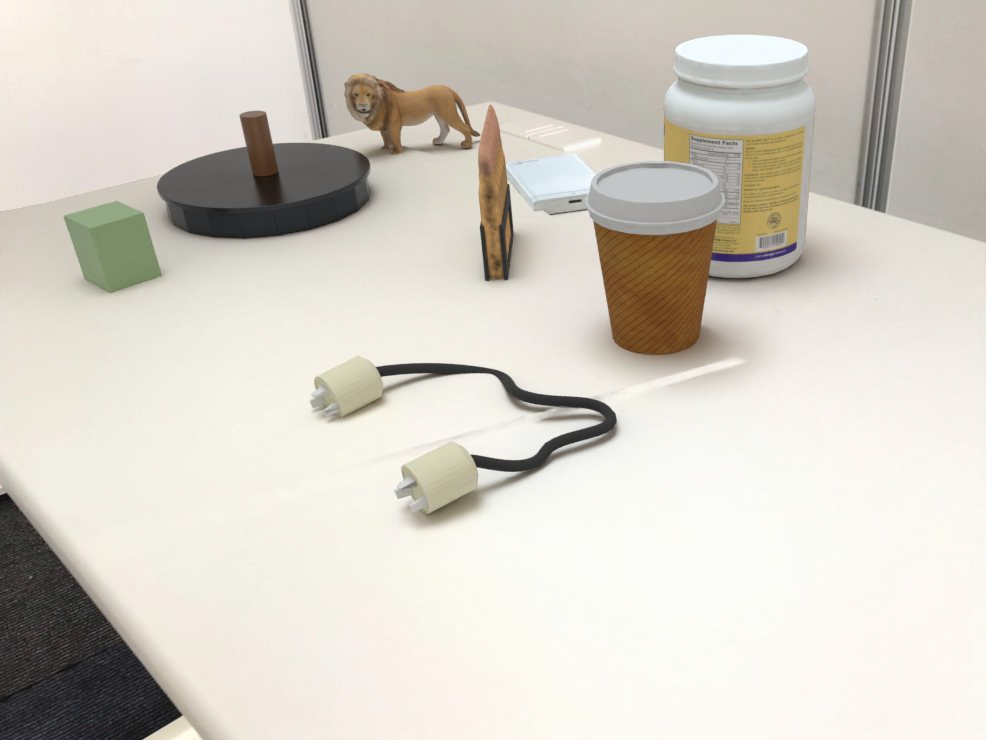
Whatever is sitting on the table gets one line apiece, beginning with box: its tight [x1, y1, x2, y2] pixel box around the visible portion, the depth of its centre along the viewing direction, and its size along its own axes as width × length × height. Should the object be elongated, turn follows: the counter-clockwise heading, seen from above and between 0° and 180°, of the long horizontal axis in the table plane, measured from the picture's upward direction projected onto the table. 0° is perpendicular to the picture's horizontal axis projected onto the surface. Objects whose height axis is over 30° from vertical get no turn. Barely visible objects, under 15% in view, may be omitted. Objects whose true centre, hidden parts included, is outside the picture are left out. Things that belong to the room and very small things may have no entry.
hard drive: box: [506, 153, 598, 215], centre depth 104 cm, size 2×8×12 cm
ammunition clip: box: [477, 104, 515, 282], centre depth 86 cm, size 11×2×12 cm, turn 3°
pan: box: [164, 177, 370, 240], centre depth 101 cm, size 19×19×3 cm
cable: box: [308, 355, 618, 515], centre depth 66 cm, size 16×16×4 cm
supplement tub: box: [662, 34, 817, 279], centre depth 85 cm, size 12×12×17 cm
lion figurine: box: [343, 72, 481, 156], centre depth 114 cm, size 15×5×9 cm, turn 121°
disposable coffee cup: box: [585, 160, 725, 356], centre depth 73 cm, size 10×10×12 cm
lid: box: [156, 110, 372, 214], centre depth 99 cm, size 20×20×7 cm
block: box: [63, 200, 163, 294], centre depth 85 cm, size 4×4×6 cm
